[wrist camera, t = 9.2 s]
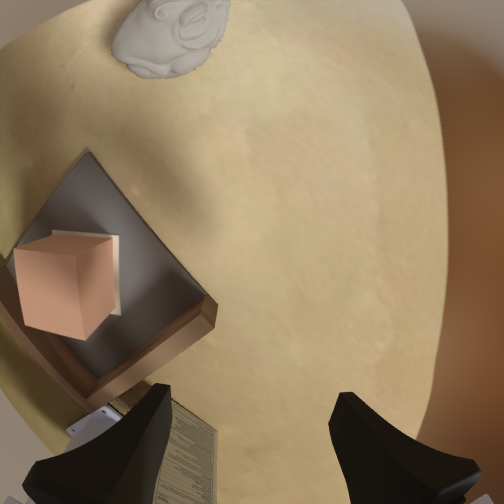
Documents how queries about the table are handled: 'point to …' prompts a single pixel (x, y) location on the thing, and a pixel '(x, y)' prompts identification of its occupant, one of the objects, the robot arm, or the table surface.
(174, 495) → the skincare box
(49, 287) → the cube
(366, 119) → the table surface
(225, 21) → the frog figurine
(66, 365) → the tray
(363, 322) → the table surface
